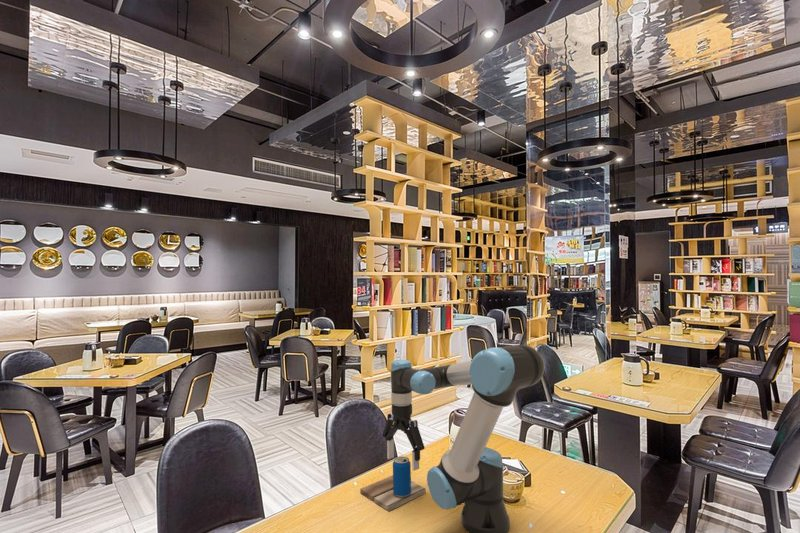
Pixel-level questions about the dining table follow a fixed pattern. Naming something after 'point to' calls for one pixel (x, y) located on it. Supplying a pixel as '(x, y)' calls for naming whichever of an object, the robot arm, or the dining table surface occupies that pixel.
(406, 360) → the robot arm
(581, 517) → the dining table surface
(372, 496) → the walnut board
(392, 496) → the plank
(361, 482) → the dining table surface
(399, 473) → the beverage can
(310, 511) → the dining table surface
